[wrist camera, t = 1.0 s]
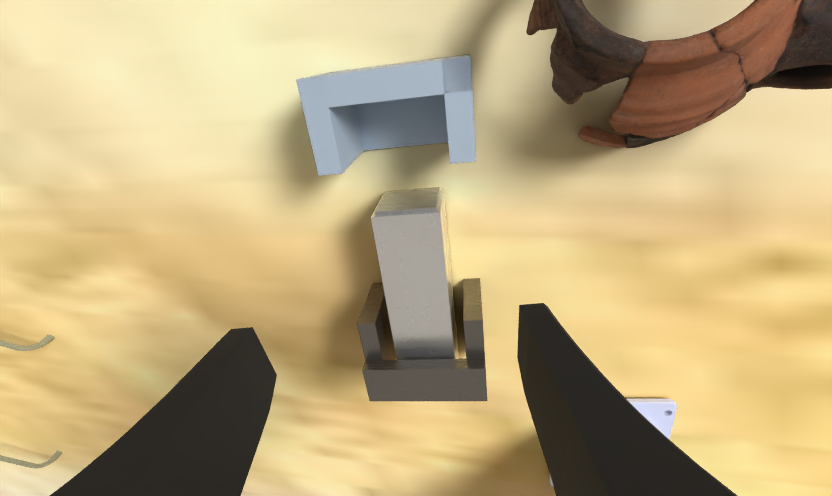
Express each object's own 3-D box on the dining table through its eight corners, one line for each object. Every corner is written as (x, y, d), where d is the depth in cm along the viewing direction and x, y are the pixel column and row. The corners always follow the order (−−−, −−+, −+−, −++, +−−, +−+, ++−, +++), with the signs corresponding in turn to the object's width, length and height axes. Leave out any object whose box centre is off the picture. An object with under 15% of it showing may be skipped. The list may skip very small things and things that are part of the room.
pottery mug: (518, 152, 21) (502, 89, 14) (552, -23, 21) (557, -190, 13) (791, 182, 18) (986, 119, 10) (836, -30, 18) (1074, -267, 10)
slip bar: (459, 357, 27) (458, 396, 24) (410, 357, 28) (403, 396, 25) (443, 185, 22) (439, 208, 19) (382, 190, 22) (370, 213, 19)
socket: (473, 138, 21) (476, 161, 17) (345, 151, 22) (318, 175, 18) (469, 54, 19) (470, 57, 15) (329, 72, 20) (296, 79, 16)
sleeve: (483, 342, 27) (487, 401, 22) (384, 344, 28) (369, 401, 23) (479, 278, 25) (483, 329, 20) (372, 283, 26) (353, 333, 21)
